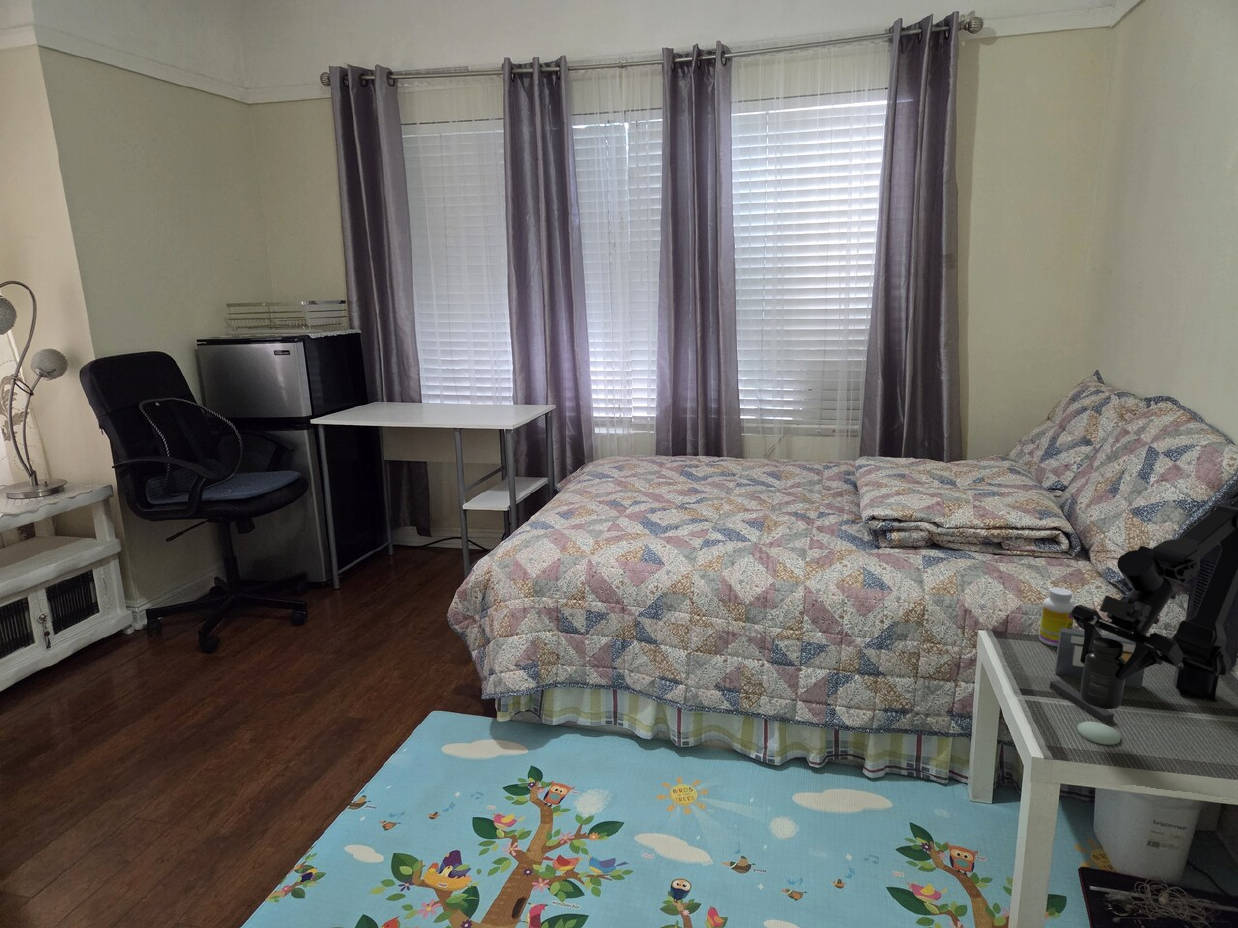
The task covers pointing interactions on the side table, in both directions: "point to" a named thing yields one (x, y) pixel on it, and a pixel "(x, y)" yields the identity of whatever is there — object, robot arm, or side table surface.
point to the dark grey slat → (1081, 701)
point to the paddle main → (1126, 656)
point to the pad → (1099, 733)
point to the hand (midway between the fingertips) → (1100, 670)
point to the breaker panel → (1076, 637)
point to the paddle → (1077, 656)
